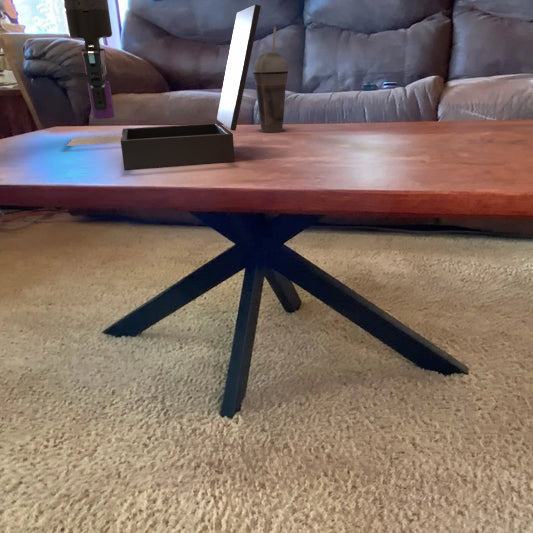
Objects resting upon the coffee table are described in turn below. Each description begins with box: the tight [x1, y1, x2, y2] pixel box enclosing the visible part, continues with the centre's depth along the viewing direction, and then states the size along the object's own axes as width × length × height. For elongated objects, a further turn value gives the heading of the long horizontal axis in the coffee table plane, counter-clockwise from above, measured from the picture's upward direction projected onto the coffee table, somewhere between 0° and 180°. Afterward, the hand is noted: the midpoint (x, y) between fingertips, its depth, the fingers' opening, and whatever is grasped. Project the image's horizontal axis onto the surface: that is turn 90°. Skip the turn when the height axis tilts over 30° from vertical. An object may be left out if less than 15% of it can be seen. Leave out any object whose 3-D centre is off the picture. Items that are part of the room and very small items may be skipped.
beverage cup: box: [252, 26, 289, 133], centre depth 105 cm, size 7×7×20 cm
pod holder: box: [120, 122, 235, 171], centre depth 78 cm, size 16×14×5 cm
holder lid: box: [216, 3, 262, 132], centre depth 76 cm, size 16×14×1 cm
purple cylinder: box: [87, 80, 115, 120], centre depth 97 cm, size 4×4×6 cm
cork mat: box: [66, 134, 122, 147], centre depth 100 cm, size 14×14×1 cm
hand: (102, 108), depth 98 cm, fingers closed on purple cylinder, 4 cm apart
